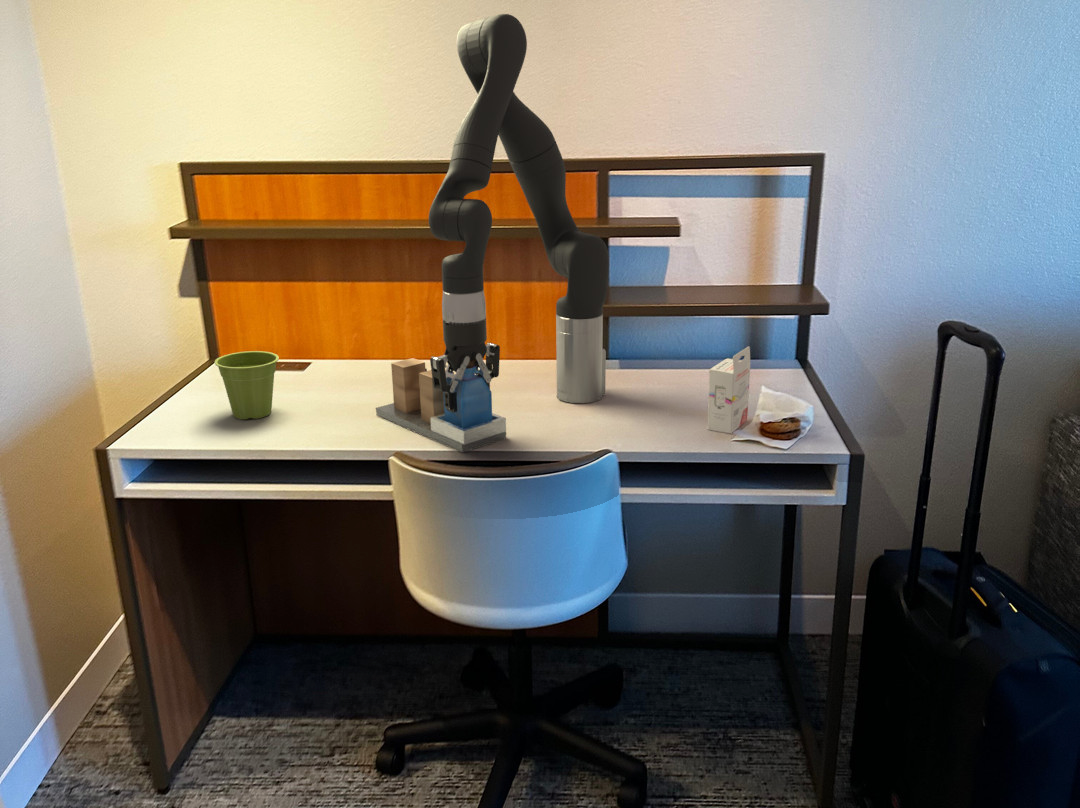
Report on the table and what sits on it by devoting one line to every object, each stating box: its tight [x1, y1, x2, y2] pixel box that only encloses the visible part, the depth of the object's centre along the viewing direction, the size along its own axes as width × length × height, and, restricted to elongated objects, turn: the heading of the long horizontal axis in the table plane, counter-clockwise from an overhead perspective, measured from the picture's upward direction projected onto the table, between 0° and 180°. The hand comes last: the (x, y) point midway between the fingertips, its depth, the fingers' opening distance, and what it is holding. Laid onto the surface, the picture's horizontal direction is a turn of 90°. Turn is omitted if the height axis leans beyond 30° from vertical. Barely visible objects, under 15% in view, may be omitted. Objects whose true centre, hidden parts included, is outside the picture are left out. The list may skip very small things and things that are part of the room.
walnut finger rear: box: [390, 357, 428, 413], centre depth 182 cm, size 6×4×9 cm
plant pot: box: [214, 350, 280, 420], centre depth 184 cm, size 12×12×11 cm
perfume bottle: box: [444, 360, 493, 429], centre depth 169 cm, size 6×6×12 cm
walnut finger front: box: [419, 368, 455, 423], centre depth 176 cm, size 6×4×9 cm
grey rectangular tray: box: [375, 402, 507, 454], centre depth 177 cm, size 10×27×4 cm, turn 42°
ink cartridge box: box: [706, 345, 751, 434], centre depth 174 cm, size 9×5×15 cm, turn 148°
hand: (467, 406), depth 170 cm, fingers closed on perfume bottle, 6 cm apart
